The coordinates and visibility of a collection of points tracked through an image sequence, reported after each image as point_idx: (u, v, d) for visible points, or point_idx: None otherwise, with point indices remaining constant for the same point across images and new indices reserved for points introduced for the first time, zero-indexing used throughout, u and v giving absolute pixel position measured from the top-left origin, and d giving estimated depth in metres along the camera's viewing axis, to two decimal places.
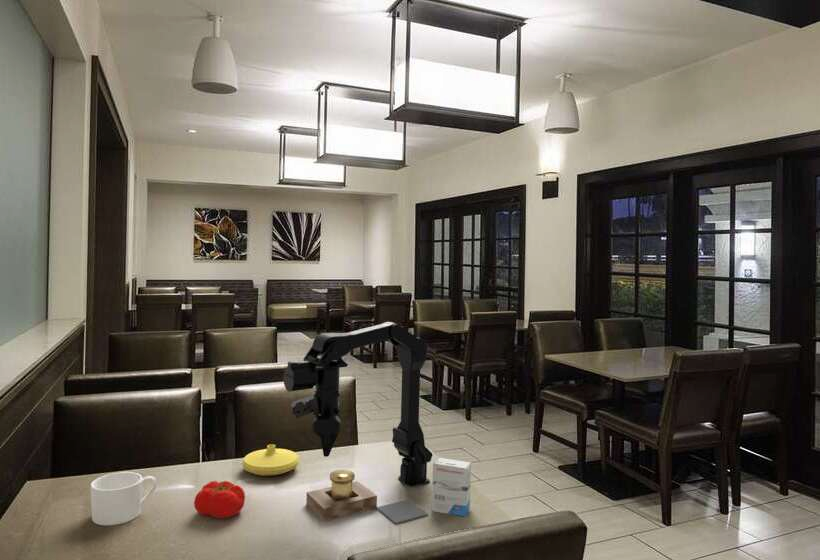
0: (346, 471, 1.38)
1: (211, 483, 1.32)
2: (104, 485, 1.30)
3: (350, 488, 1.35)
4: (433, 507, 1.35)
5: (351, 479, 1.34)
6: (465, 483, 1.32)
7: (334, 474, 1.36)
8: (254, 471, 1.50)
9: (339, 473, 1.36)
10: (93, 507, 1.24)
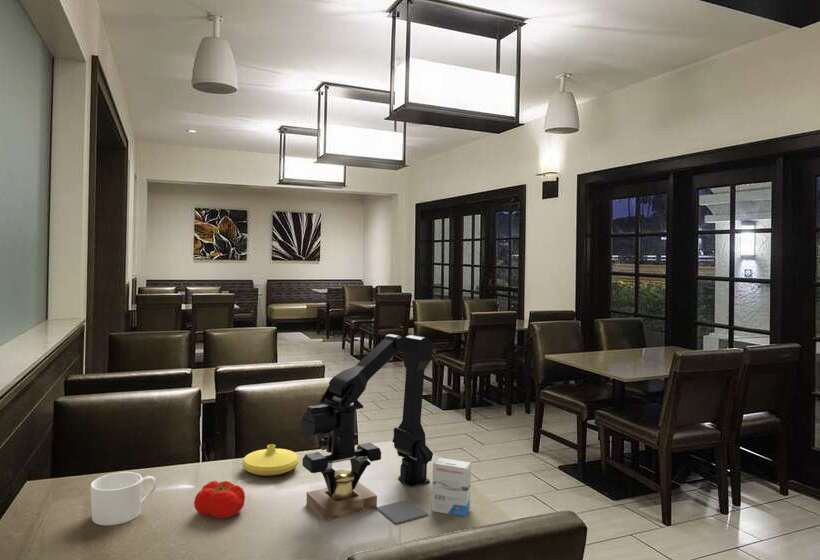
0: (346, 471, 1.38)
1: (211, 483, 1.32)
2: (104, 485, 1.30)
3: (350, 488, 1.35)
4: (433, 507, 1.35)
5: (351, 479, 1.34)
6: (465, 483, 1.32)
7: None
8: (254, 471, 1.50)
9: (339, 473, 1.36)
10: (93, 507, 1.24)
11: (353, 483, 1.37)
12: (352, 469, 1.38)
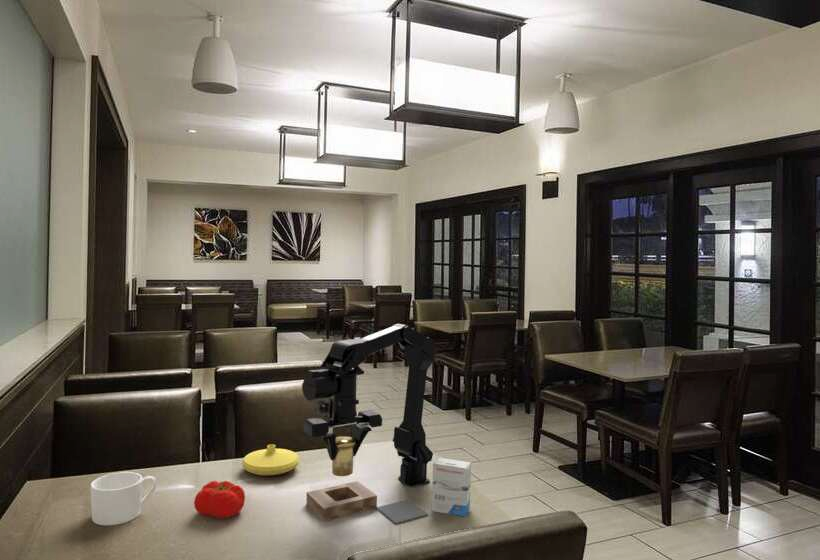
0: (347, 437, 1.37)
1: (211, 483, 1.32)
2: (104, 485, 1.30)
3: (351, 454, 1.34)
4: (433, 507, 1.35)
5: (352, 444, 1.34)
6: (465, 483, 1.32)
7: None
8: (254, 471, 1.50)
9: (340, 439, 1.36)
10: (93, 507, 1.24)
11: (354, 449, 1.36)
12: (353, 435, 1.38)
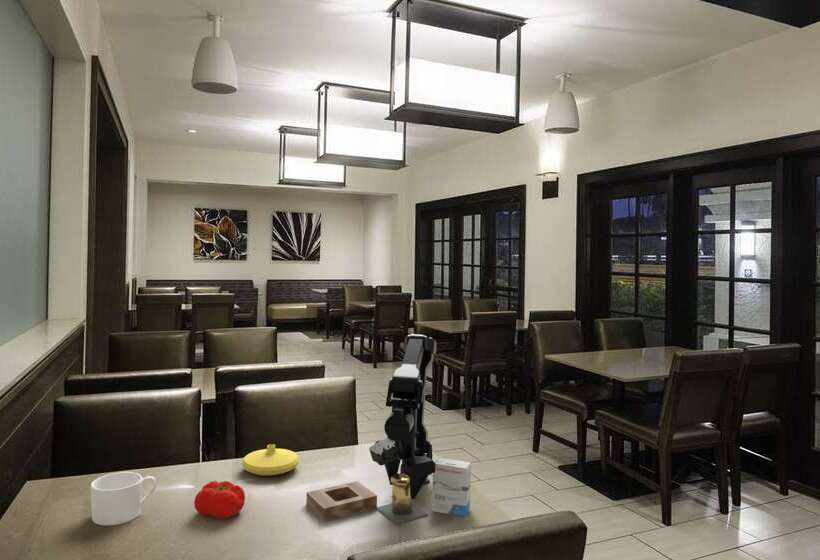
0: (394, 476, 1.34)
1: (211, 483, 1.32)
2: (104, 485, 1.30)
3: None
4: (433, 507, 1.35)
5: None
6: (465, 483, 1.32)
7: (403, 481, 1.32)
8: (254, 471, 1.50)
9: (400, 479, 1.33)
10: (93, 507, 1.24)
11: None
12: (389, 466, 1.37)
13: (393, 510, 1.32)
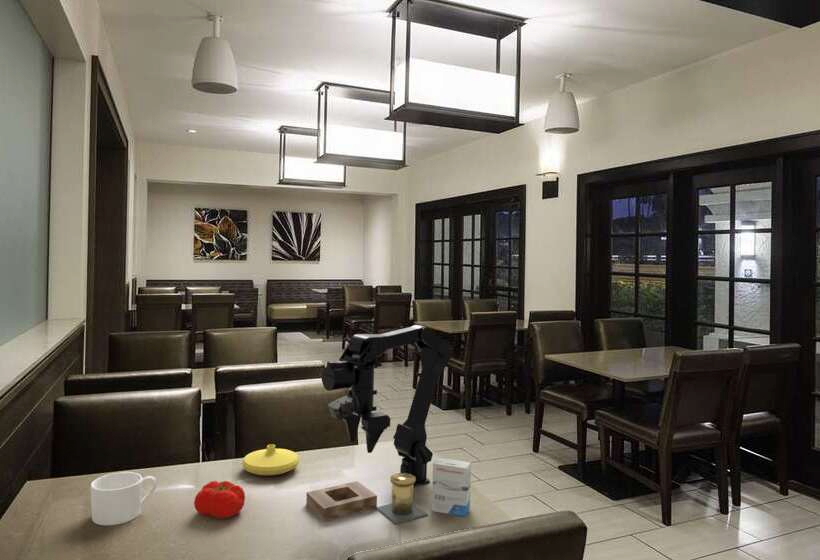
0: (394, 475, 1.35)
1: (211, 483, 1.32)
2: (104, 485, 1.30)
3: None
4: (433, 507, 1.35)
5: None
6: (465, 483, 1.32)
7: (402, 480, 1.32)
8: (254, 471, 1.50)
9: (399, 478, 1.33)
10: (93, 507, 1.24)
11: (355, 434, 1.44)
12: (349, 423, 1.44)
13: (393, 509, 1.33)
